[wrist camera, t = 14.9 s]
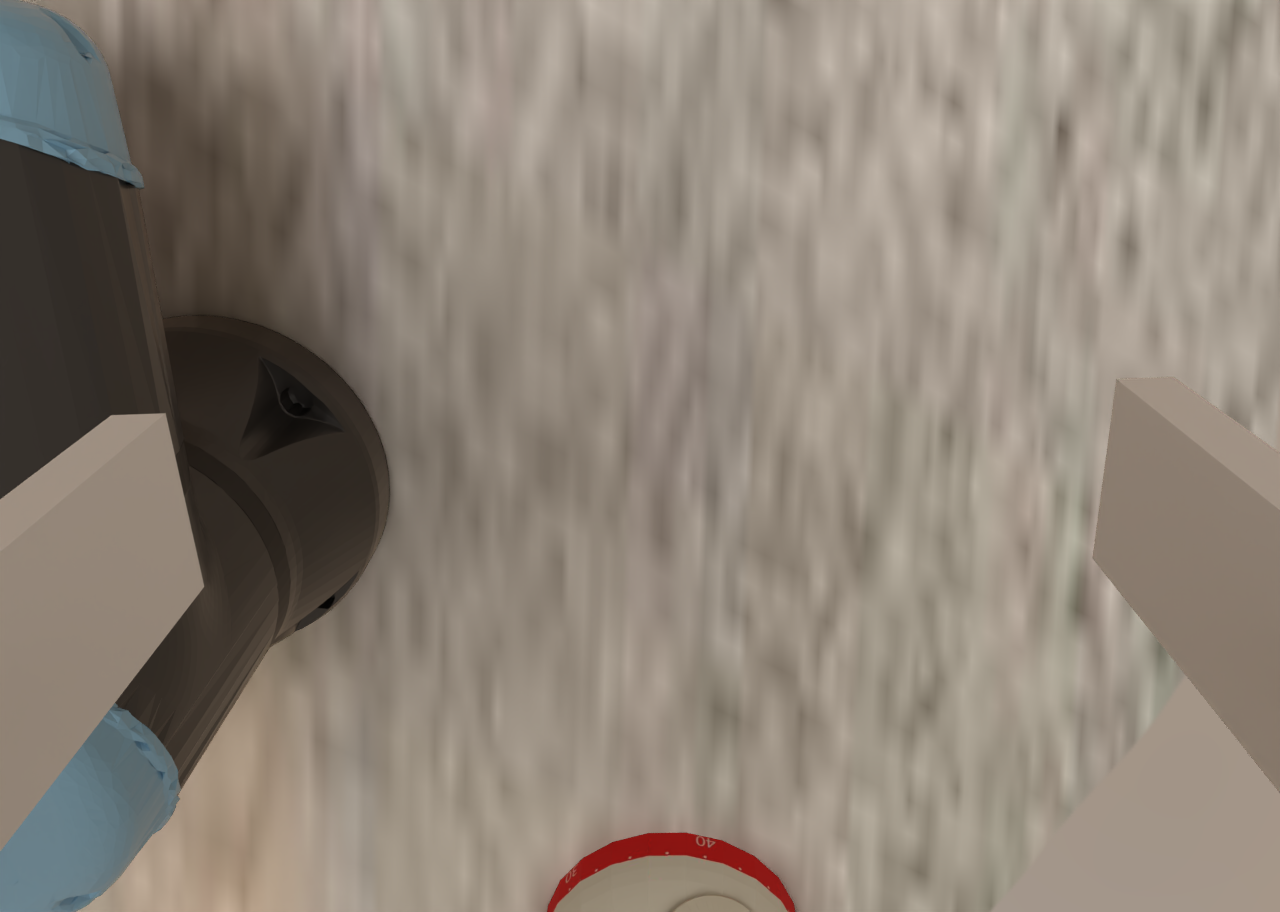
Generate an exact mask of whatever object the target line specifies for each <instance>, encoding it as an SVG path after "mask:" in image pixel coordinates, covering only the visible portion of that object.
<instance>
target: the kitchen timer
mask: <svg viewBox="0 0 1280 912" xmlns="http://www.w3.org/2000/svg"><path fill="white" fill-rule="evenodd" d="M547 912H795V908H794V903H793V901H792V900H791V898H790V896H789V895H788V893H787V891H786V889H785V888H784V886H783V884H782V883H781V881H780V879H779V878H778V877H777V876H776V875H775V874H774V873H773V872H772V871H770V870H769V869H768V868H767V867H766V866H765V865H764V864H763V863H761V862H760V861H759V860H758V859H757V858H756V857H755V856H753V855H751V854H749V853H747V852H745V851H743V850H741V849H739V848H736V847H734V846H732V845H730V844H728V843H726V842H724V841H722V840H717V839H713V838H708V837H703V836H699V835H694V834H689V833H647V834H643V835H639V836H635V837H631V838H627V839H623V840H619V841H615V842H612V843H610V844H608V845H607V846H605V847H603V848H601V849H599V850H597V851H595V852H594V853H592V854H590V855H588V856H586V857H584V858H583V859H582V860H581V861H580V862H579V863H578V864H577V865H576V866H575V867H574V868H573V869H572V870H570V871H569V872H568V873H567V874H566V875H565V876H564V877H563V878H562V879H561V881H560V883H559V885H558V887H557V889H556V891H555V893H554V895H553V897H552V899H551V901H550V903H549V905H548V910H547Z"/></svg>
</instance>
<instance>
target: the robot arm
mask: <svg viewBox="0 0 1280 912" xmlns="http://www.w3.org/2000/svg"><path fill="white" fill-rule="evenodd" d="M143 188H144V182H143V177H142V175H141V173H140V172H139V171H138V169H137V168H136V167H135V166H134V165H132V163H131V159H130V155H129V151H128V147H127V143H126V139H125V134H124V130H123V126H122V122H121V118H120V114H119V109H118V105H117V101H116V97H115V93H114V89H113V84H112V80H111V76H110V72H109V69H108V67H107V64H106V62H105V60H104V57H103V56H102V54H101V52H100V50H99V49H98V47H97V46H96V44H95V43H94V42H93V41H92V39H91V38H90V37H89V36H88V35H87V34H86V33H85V32H84V31H83V30H82V29H81V28H80V27H78V26H77V25H76V24H74V23H73V22H71V21H70V20H69V19H67V18H65V17H63V16H62V15H60V14H58V13H56V12H54V11H52V10H50V9H47V8H44V7H41V6H38V5H35V4H31V3H28V2H23V1H19V0H0V912H76V911H78V910H80V909H82V908H84V907H85V906H87V905H88V904H90V903H91V902H92V901H93V900H94V899H95V898H96V897H98V896H101V895H102V894H103V893H104V892H105V891H106V890H107V889H108V888H109V887H110V886H111V885H112V884H113V883H114V882H115V881H116V880H117V879H118V878H119V877H120V876H121V875H122V874H123V872H124V871H125V870H126V868H127V867H128V866H129V864H130V863H131V861H132V860H133V859H134V857H135V856H136V855H137V853H138V852H139V851H140V850H141V848H142V847H143V846H144V845H145V843H146V842H147V841H148V840H149V838H150V837H151V836H152V834H154V833H156V832H157V831H159V830H160V829H161V828H162V827H163V826H164V825H165V824H166V823H167V822H168V820H169V819H170V817H171V816H172V814H173V812H174V810H175V808H176V803H177V802H178V801H179V800H180V799H179V797H178V794H179V792H180V791H181V789H182V788H183V786H184V784H185V783H186V781H187V779H188V778H189V776H190V775H191V773H192V771H193V770H194V768H195V767H196V765H197V763H198V762H199V760H200V759H201V757H202V755H203V754H204V752H205V751H206V749H207V747H208V746H209V744H210V742H211V741H212V739H213V738H214V736H215V734H216V733H217V731H218V730H219V728H220V726H221V725H222V723H223V722H224V720H225V718H226V717H227V715H228V714H229V712H230V710H231V709H232V707H233V706H234V704H235V702H236V701H237V699H238V698H239V696H240V694H241V693H242V691H243V689H244V688H245V686H246V685H247V683H248V681H249V680H250V678H251V677H252V675H253V673H254V672H255V670H256V669H257V667H258V665H259V664H260V662H261V661H262V659H263V657H264V656H265V654H266V652H267V651H268V649H269V648H270V647H271V646H273V645H275V644H276V643H278V642H280V641H282V640H283V639H285V638H287V637H288V636H290V635H292V634H293V633H294V632H295V631H297V630H300V629H302V628H304V627H305V626H307V625H309V624H311V623H312V622H314V621H316V620H317V619H319V618H320V617H322V616H323V615H325V614H326V613H327V612H329V611H330V610H331V609H332V608H334V607H335V606H336V605H337V604H338V603H339V602H340V601H341V600H342V599H343V598H344V597H345V596H346V595H347V594H348V592H349V591H350V590H351V589H352V588H353V587H354V585H355V584H356V582H357V581H358V580H359V578H360V577H361V575H362V573H363V572H364V570H365V568H366V566H367V565H368V563H369V561H370V559H371V557H372V555H373V554H374V552H375V550H376V548H377V546H378V544H379V541H380V539H381V536H382V534H383V531H384V527H385V524H386V519H387V515H388V508H389V493H390V489H389V475H388V468H387V463H386V458H385V454H384V451H383V447H382V444H381V442H380V439H379V436H378V434H377V431H376V429H375V427H374V425H373V423H372V421H371V419H370V417H369V415H368V414H367V412H366V410H365V409H364V407H363V406H362V404H361V403H360V401H359V400H358V398H357V397H356V396H355V394H354V393H353V392H352V390H351V389H350V388H349V387H348V386H347V385H346V383H345V382H344V381H343V380H342V379H341V378H340V377H339V376H338V375H337V374H336V373H335V372H334V371H333V370H332V369H331V368H330V367H329V366H327V365H326V364H325V363H324V362H323V361H322V360H320V359H319V358H318V357H316V356H315V355H314V354H312V353H311V352H309V351H308V350H307V349H305V348H304V347H302V346H300V345H299V344H297V343H295V342H294V341H292V340H290V339H288V338H286V337H284V336H282V335H280V334H278V333H276V332H273V331H271V330H269V329H266V328H264V327H261V326H258V325H255V324H252V323H248V322H244V321H241V320H236V319H231V318H225V317H217V316H204V315H192V316H178V317H171V318H165V319H162V315H161V309H160V304H159V298H158V292H157V287H156V281H155V276H154V270H153V265H152V259H151V254H150V248H149V243H148V237H147V232H146V226H145V221H144V215H143V210H142V204H141V199H140V193H139V189H143ZM1093 559H1094V561H1095V562H1096V563H1097V564H1098V566H1099V567H1100V568H1101V569H1102V571H1103V572H1104V573H1105V574H1106V576H1107V577H1108V578H1109V579H1110V581H1111V582H1112V583H1113V584H1114V586H1115V587H1116V588H1117V590H1118V591H1119V592H1120V593H1121V595H1122V596H1123V597H1124V598H1125V600H1126V601H1127V602H1128V603H1129V605H1130V606H1131V607H1132V608H1133V610H1134V611H1135V612H1136V613H1137V615H1138V616H1139V617H1140V618H1141V620H1142V621H1143V622H1144V623H1145V625H1146V626H1147V627H1148V628H1149V630H1150V631H1151V632H1152V633H1153V635H1154V636H1155V637H1156V638H1157V640H1158V641H1159V642H1160V643H1161V645H1162V646H1163V647H1164V648H1165V650H1166V651H1167V652H1168V653H1169V655H1170V656H1171V657H1172V658H1173V660H1174V661H1175V662H1176V664H1177V665H1178V666H1179V667H1180V669H1181V670H1182V671H1183V672H1184V674H1185V675H1186V676H1187V677H1188V679H1189V680H1190V681H1191V682H1192V684H1193V685H1194V686H1195V687H1196V689H1197V690H1198V691H1199V692H1200V694H1201V695H1202V696H1203V697H1204V699H1205V700H1206V701H1207V702H1208V704H1209V705H1210V706H1211V707H1212V709H1213V710H1214V711H1215V712H1216V714H1217V715H1218V716H1219V717H1220V719H1221V720H1222V721H1223V722H1224V724H1225V725H1226V726H1227V727H1228V729H1229V730H1230V731H1231V732H1232V734H1233V735H1234V736H1235V737H1236V738H1237V740H1238V741H1239V742H1240V744H1241V745H1242V746H1243V748H1244V749H1245V750H1246V751H1247V753H1248V754H1249V755H1250V756H1251V758H1252V759H1253V760H1254V761H1255V763H1256V764H1257V765H1258V766H1259V768H1260V769H1261V770H1262V771H1263V773H1264V774H1265V775H1266V776H1267V778H1268V779H1269V780H1270V781H1271V782H1272V784H1273V785H1274V786H1275V788H1276V789H1277V790H1278V791H1279V793H1280V453H1279V452H1278V451H1277V450H1275V449H1274V448H1272V447H1271V446H1270V445H1268V444H1267V443H1265V442H1264V441H1263V440H1261V439H1260V438H1258V437H1257V436H1256V435H1254V434H1253V433H1251V432H1250V431H1249V430H1247V429H1246V428H1244V427H1243V426H1242V425H1240V424H1239V423H1237V422H1236V421H1235V420H1233V419H1232V418H1230V417H1229V416H1228V415H1226V414H1225V413H1223V412H1222V411H1221V410H1219V409H1218V408H1216V407H1215V406H1213V405H1212V404H1211V403H1209V402H1208V401H1206V400H1205V399H1204V398H1202V397H1201V396H1199V395H1198V394H1197V393H1195V392H1194V391H1192V390H1191V389H1190V388H1188V387H1187V386H1185V385H1184V384H1183V383H1181V382H1180V381H1178V380H1177V379H1176V378H1174V377H1157V378H1129V379H1116V387H1115V394H1114V401H1113V409H1112V416H1111V424H1110V431H1109V439H1108V446H1107V454H1106V461H1105V469H1104V476H1103V484H1102V491H1101V499H1100V506H1099V513H1098V521H1097V528H1096V536H1095V543H1094V551H1093Z"/></svg>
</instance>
